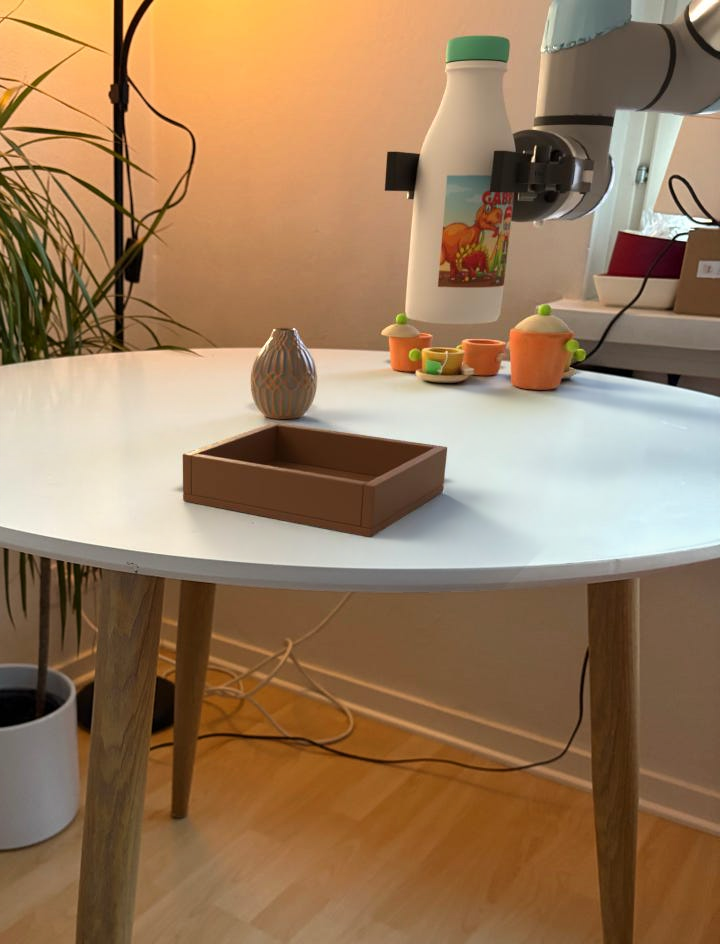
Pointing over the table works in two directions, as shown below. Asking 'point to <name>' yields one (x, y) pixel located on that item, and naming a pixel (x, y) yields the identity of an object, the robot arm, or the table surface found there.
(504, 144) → the milk bottle
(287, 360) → the vase
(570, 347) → the toy tea set
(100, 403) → the table surface
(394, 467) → the tray
